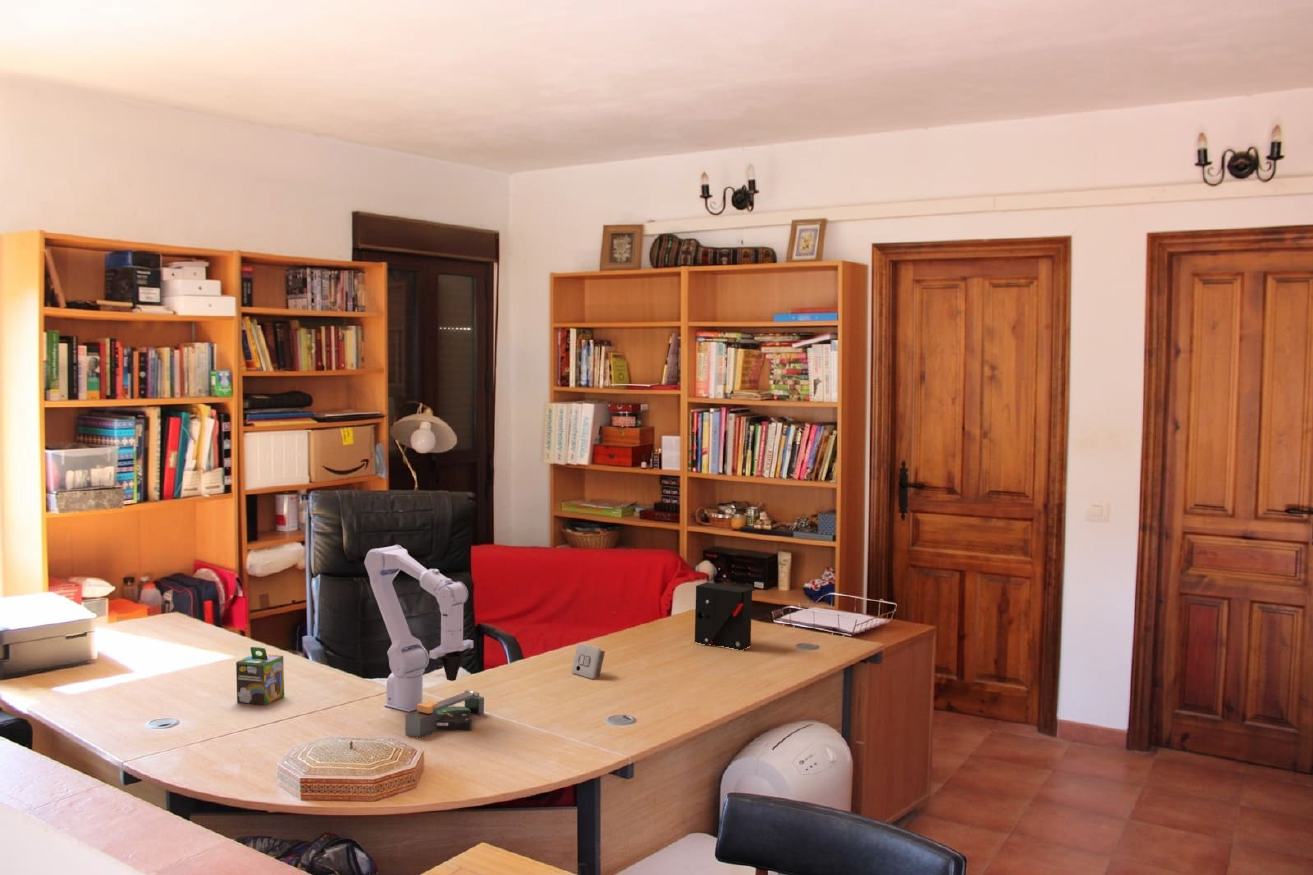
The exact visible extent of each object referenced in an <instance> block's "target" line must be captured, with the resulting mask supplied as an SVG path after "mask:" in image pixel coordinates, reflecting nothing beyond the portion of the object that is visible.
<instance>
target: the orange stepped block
mask: <svg viewBox="0 0 1313 875" xmlns="http://www.w3.org/2000/svg"><path fill="white" fill-rule="evenodd" d="M424 702H425V703H420V704H417V709H416V711H420V712H424V713H428V714H429V713H432V712H433V707H435V706H438V703H437V702H435V701H431V700H430V701H428V700H427V701H424Z"/></svg>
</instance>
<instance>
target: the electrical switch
mask: <svg viewBox="0 0 1313 875" xmlns="http://www.w3.org/2000/svg"><path fill="white" fill-rule="evenodd" d="M574 653H575V654H574V657H573V658H574V659H573V662H572V667H571V673H572V674H574V675H577V676H580V677H584V678H586V679H587V678H588V679H591V680H595V678H596V677H600V676H601V671H602V667H603V664H604V663H603V662H604V657H605V653H606V651H604V650H602V649H601V647H597V646H592V645H590V644H589V645H588V644H584V643H582V642H579V643H578V644H576V649H575V652H574Z"/></svg>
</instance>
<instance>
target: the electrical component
mask: <svg viewBox="0 0 1313 875" xmlns="http://www.w3.org/2000/svg"><path fill="white" fill-rule="evenodd" d="M752 604H753V589H752V588H749V587H740V586H735V585H729V584H720V583H714V582H704V583H701V584H700V583H699V584H697V585H695V610H694V611H695V613H694V614H695V616H694V618H695V619H694V620H695V621H694V643H695V642H697V643H701V644H705V645H704V646H706V645H707V646H710V645H709V644H711V645H715V646H714V647H716V646H724V647H729V648H734V649H738V650H743V649H745V648H747V647H749V646H751V645H752V644H751V642H752ZM738 650H737V651H738Z"/></svg>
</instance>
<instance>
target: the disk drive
mask: <svg viewBox="0 0 1313 875" xmlns="http://www.w3.org/2000/svg"><path fill="white" fill-rule="evenodd" d="M435 712H436V713H437V731H447V732H449V731H451V730H453V732H457V731H458V732H461V731H471V730H472V722H473V721H472V714H471V709H470V708H467V707H465V706H454V705H452V706H449V707H446V708H444V709H441V710H438V711H435ZM451 732H452V731H451Z"/></svg>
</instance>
